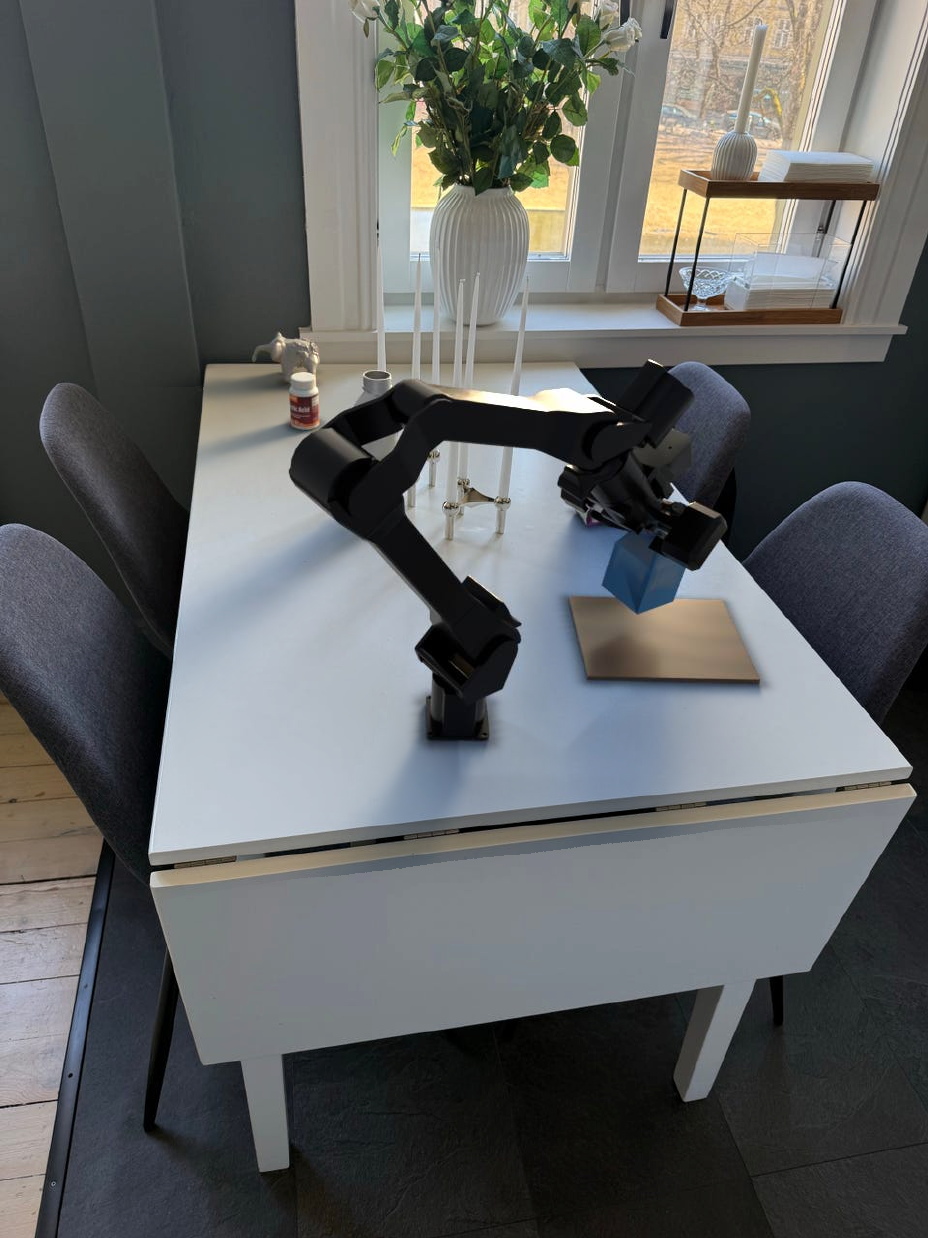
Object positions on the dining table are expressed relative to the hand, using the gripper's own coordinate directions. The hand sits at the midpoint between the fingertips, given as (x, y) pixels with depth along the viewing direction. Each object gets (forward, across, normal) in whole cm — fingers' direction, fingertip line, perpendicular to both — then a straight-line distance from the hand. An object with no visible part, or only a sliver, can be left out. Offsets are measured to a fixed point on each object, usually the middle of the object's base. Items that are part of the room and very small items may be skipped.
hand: (662, 539), depth 105 cm
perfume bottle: (+4, +1, +6) cm, 8 cm away
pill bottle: (+9, +72, +9) cm, 74 cm away
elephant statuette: (+15, +91, +3) cm, 92 cm away
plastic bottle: (+3, +43, +15) cm, 45 cm away
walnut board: (+8, -3, +9) cm, 13 cm away
